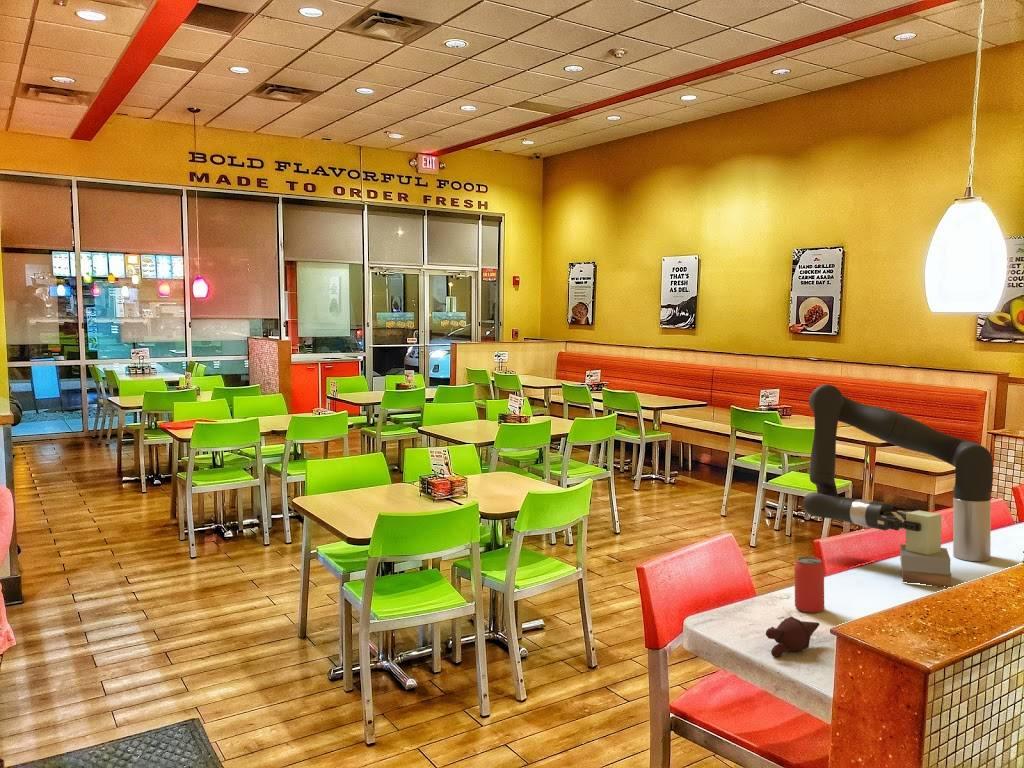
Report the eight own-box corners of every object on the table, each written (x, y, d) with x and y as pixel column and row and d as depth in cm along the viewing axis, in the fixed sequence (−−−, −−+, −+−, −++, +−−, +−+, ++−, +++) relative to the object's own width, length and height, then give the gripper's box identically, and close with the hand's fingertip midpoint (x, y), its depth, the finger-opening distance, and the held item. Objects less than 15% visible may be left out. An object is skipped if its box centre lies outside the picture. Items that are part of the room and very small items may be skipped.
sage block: (918, 547, 205) (919, 510, 204) (940, 551, 200) (941, 514, 199) (905, 550, 202) (906, 512, 201) (927, 555, 197) (928, 516, 196)
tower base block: (901, 573, 208) (901, 559, 208) (947, 577, 203) (947, 562, 203) (902, 585, 198) (902, 570, 198) (951, 590, 193) (951, 574, 193)
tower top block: (900, 559, 208) (900, 544, 208) (946, 563, 203) (946, 548, 203) (901, 570, 198) (901, 555, 198) (950, 574, 193) (950, 559, 193)
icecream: (800, 606, 166) (751, 626, 159) (828, 607, 160) (778, 628, 153) (809, 638, 165) (760, 660, 158) (837, 641, 159) (787, 663, 152)
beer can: (819, 616, 177) (819, 565, 177) (791, 610, 181) (790, 561, 181) (827, 607, 182) (827, 558, 182) (799, 602, 186) (799, 554, 186)
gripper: (856, 504, 209) (913, 514, 195) (886, 497, 217) (944, 507, 203) (856, 531, 210) (914, 543, 196) (886, 523, 217) (944, 534, 203)
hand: (929, 524), depth 199 cm, fingers open, 8 cm apart
